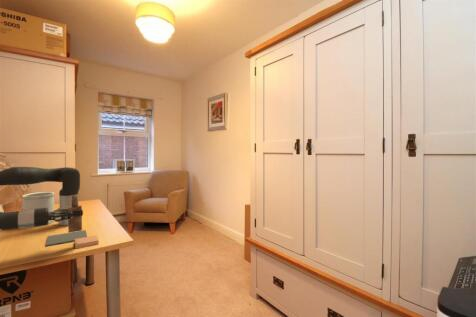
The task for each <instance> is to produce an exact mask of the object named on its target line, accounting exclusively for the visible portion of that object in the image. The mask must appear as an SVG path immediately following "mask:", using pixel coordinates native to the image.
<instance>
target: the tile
mask: <svg viewBox="0 0 476 317" xmlns="http://www.w3.org/2000/svg"><path fill="white" fill-rule="evenodd" d="M95 245H99V238H98V236H97V235H90V236H87V237H84V238H78V239H75V241H74V248H75V249H81V248H84V247H90V246H95Z"/></svg>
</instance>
